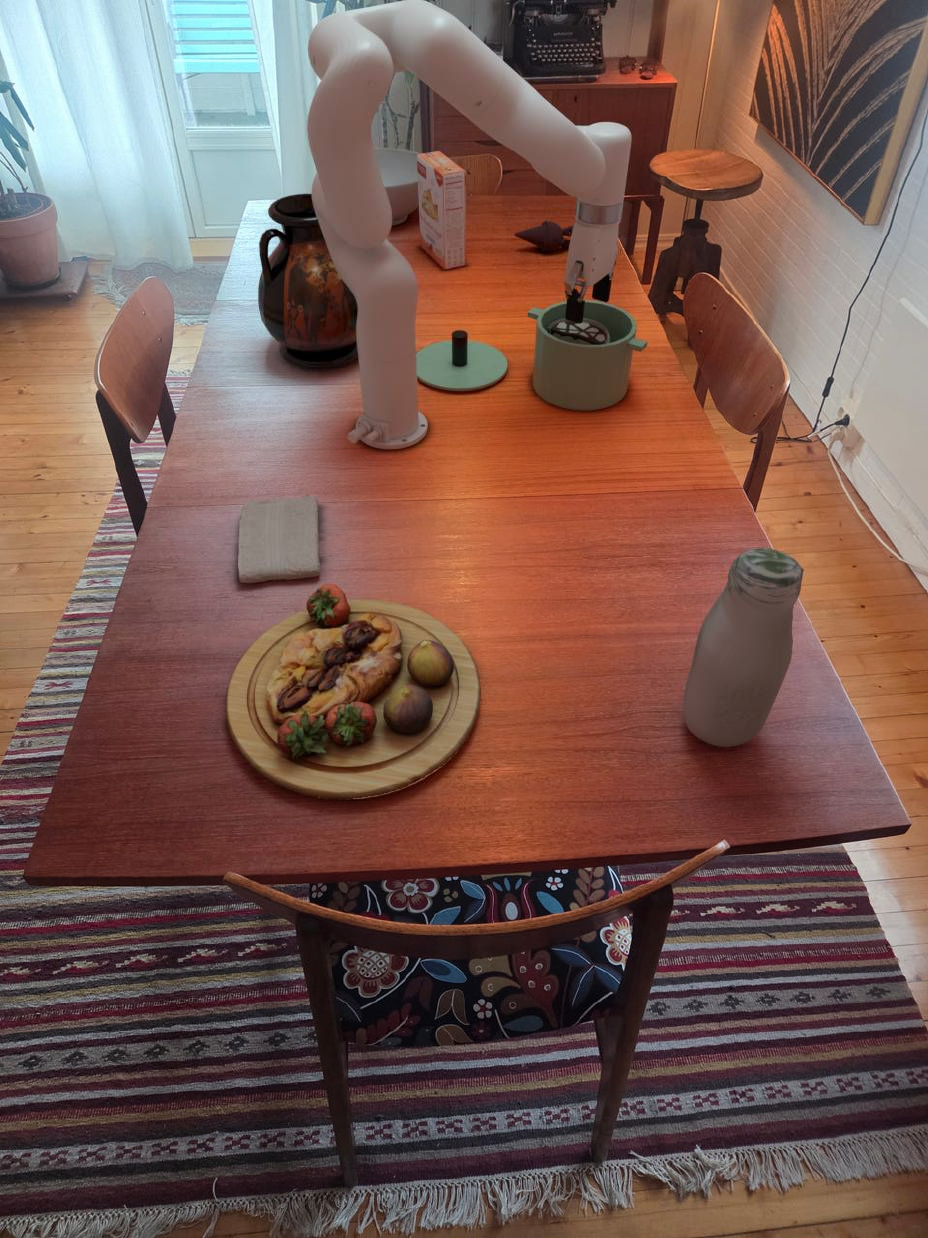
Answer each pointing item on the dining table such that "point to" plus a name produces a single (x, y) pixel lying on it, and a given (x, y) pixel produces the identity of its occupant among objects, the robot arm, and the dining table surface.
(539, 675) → the dining table surface
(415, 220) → the dining table surface
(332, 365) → the amphora vase
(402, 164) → the decorative bowl
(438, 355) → the lid
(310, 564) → the washcloth
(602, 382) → the pot
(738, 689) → the glass bottle
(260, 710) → the wooden plate
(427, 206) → the cracker box
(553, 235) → the icecream
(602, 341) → the food container
